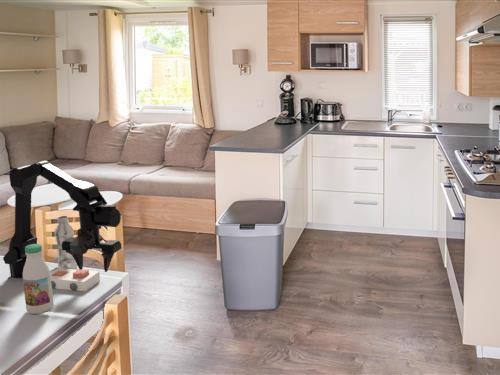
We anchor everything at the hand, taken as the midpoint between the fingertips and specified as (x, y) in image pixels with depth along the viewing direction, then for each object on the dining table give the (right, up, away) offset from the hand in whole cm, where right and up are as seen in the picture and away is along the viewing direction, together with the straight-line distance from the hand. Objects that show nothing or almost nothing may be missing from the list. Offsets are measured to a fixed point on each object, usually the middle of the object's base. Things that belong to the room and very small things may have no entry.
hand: (93, 270), depth 178 cm
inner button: (-12, -3, +4) cm, 13 cm away
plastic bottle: (-14, -3, +17) cm, 22 cm away
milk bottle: (-12, -10, -13) cm, 21 cm away
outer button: (-5, -2, +2) cm, 6 cm away
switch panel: (-8, -6, +4) cm, 11 cm away
